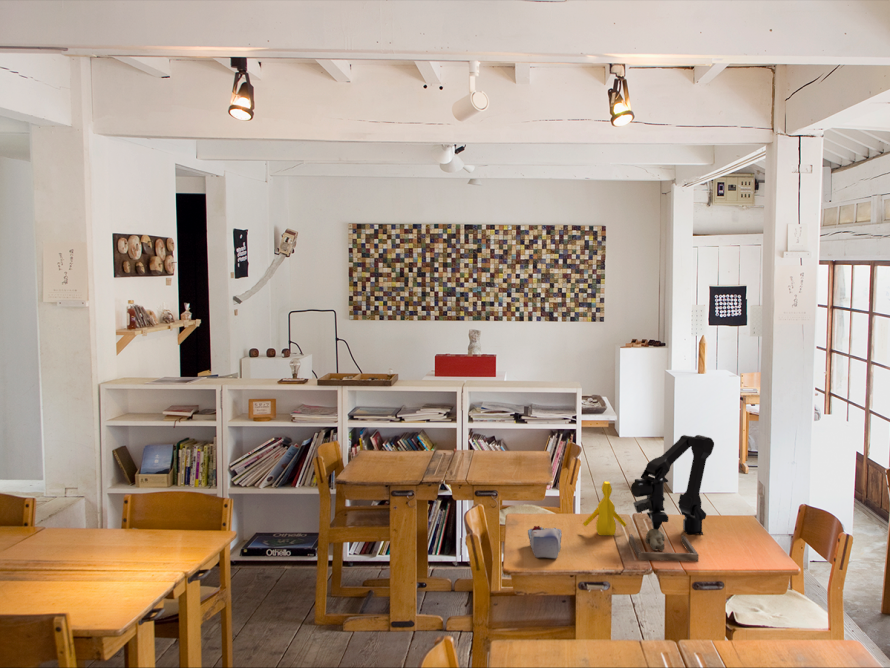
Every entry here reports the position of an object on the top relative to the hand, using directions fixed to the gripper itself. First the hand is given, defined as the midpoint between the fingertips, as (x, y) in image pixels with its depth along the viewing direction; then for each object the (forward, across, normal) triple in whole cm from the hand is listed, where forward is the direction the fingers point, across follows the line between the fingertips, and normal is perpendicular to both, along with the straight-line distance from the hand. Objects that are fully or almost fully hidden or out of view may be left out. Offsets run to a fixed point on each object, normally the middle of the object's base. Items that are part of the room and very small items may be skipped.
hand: (655, 532), depth 297 cm
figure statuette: (+3, -4, -19) cm, 20 cm away
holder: (+2, +13, 0) cm, 13 cm away
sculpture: (+3, +9, -1) cm, 9 cm away
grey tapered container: (+3, +17, -44) cm, 47 cm away
